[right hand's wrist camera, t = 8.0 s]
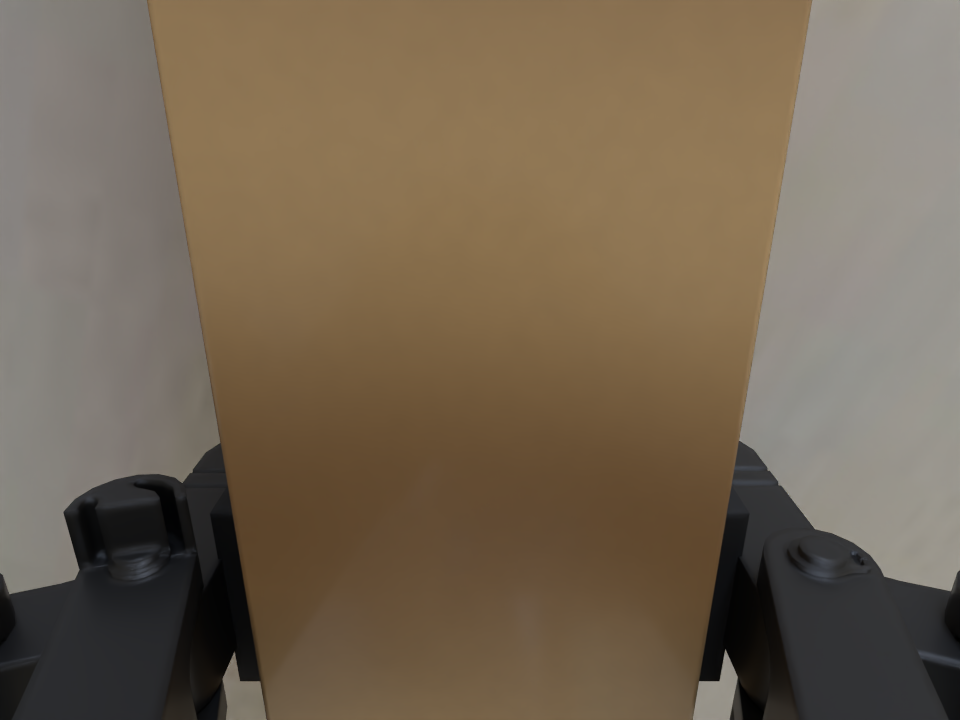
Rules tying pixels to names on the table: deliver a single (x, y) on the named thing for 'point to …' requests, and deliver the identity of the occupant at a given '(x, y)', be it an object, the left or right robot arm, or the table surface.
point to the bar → (479, 333)
